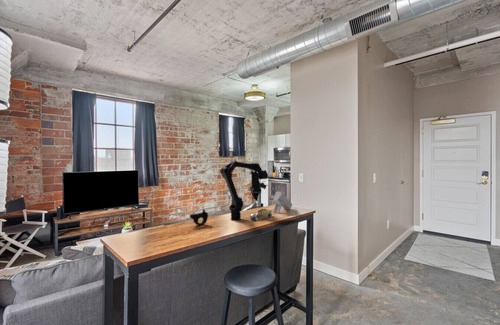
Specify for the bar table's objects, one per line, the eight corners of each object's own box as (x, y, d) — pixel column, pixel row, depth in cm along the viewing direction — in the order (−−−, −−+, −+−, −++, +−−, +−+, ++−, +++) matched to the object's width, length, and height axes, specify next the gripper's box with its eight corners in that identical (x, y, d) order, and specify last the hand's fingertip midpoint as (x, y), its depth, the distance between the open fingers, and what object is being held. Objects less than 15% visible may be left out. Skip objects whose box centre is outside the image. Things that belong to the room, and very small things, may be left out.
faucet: (292, 203, 210) (282, 191, 198) (286, 221, 203) (275, 208, 191) (286, 202, 214) (275, 190, 202) (279, 219, 207) (268, 207, 195)
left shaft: (252, 221, 173) (252, 214, 173) (249, 220, 176) (249, 213, 176) (259, 219, 176) (259, 213, 176) (256, 218, 179) (256, 212, 179)
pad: (262, 220, 175) (262, 219, 175) (256, 218, 180) (256, 218, 180) (269, 218, 181) (269, 217, 181) (263, 216, 185) (263, 216, 185)
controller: (209, 224, 166) (208, 209, 166) (191, 227, 159) (191, 212, 159) (206, 223, 169) (206, 208, 169) (189, 226, 163) (188, 211, 163)
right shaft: (268, 217, 183) (268, 211, 183) (264, 217, 185) (264, 210, 185) (272, 215, 188) (272, 209, 188) (268, 215, 190) (268, 209, 190)
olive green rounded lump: (263, 216, 184) (263, 208, 183) (267, 217, 181) (267, 209, 181) (258, 218, 180) (258, 209, 179) (262, 219, 177) (262, 210, 176)
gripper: (267, 180, 180) (268, 201, 181) (263, 178, 199) (263, 197, 199) (252, 181, 179) (253, 202, 179) (249, 178, 198) (250, 198, 198)
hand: (255, 200), depth 189 cm, fingers open, 9 cm apart
